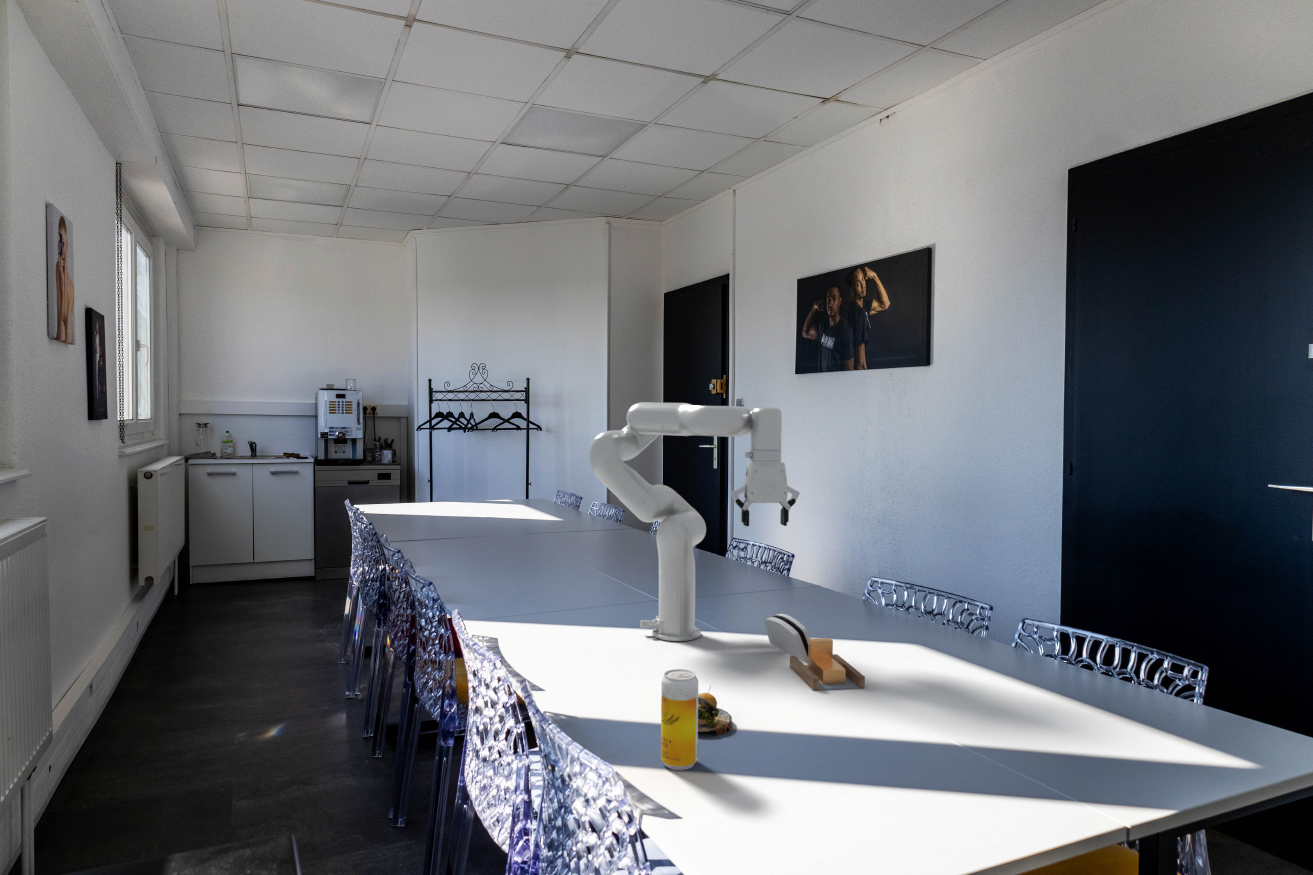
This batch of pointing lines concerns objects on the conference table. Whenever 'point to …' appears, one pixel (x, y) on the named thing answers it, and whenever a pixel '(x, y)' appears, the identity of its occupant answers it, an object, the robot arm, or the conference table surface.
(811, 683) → the bay walls
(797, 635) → the grey slotted curved block
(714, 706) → the burger
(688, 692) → the beer can
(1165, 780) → the conference table surface
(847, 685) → the bay mat
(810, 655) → the bracket
